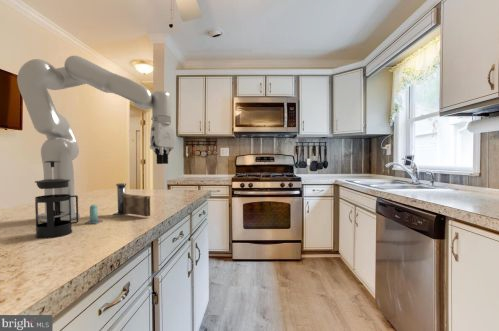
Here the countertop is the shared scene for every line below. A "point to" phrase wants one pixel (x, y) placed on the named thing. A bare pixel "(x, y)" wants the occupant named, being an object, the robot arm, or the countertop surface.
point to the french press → (54, 209)
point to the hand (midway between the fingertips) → (162, 163)
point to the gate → (136, 204)
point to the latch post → (93, 215)
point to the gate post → (120, 198)
